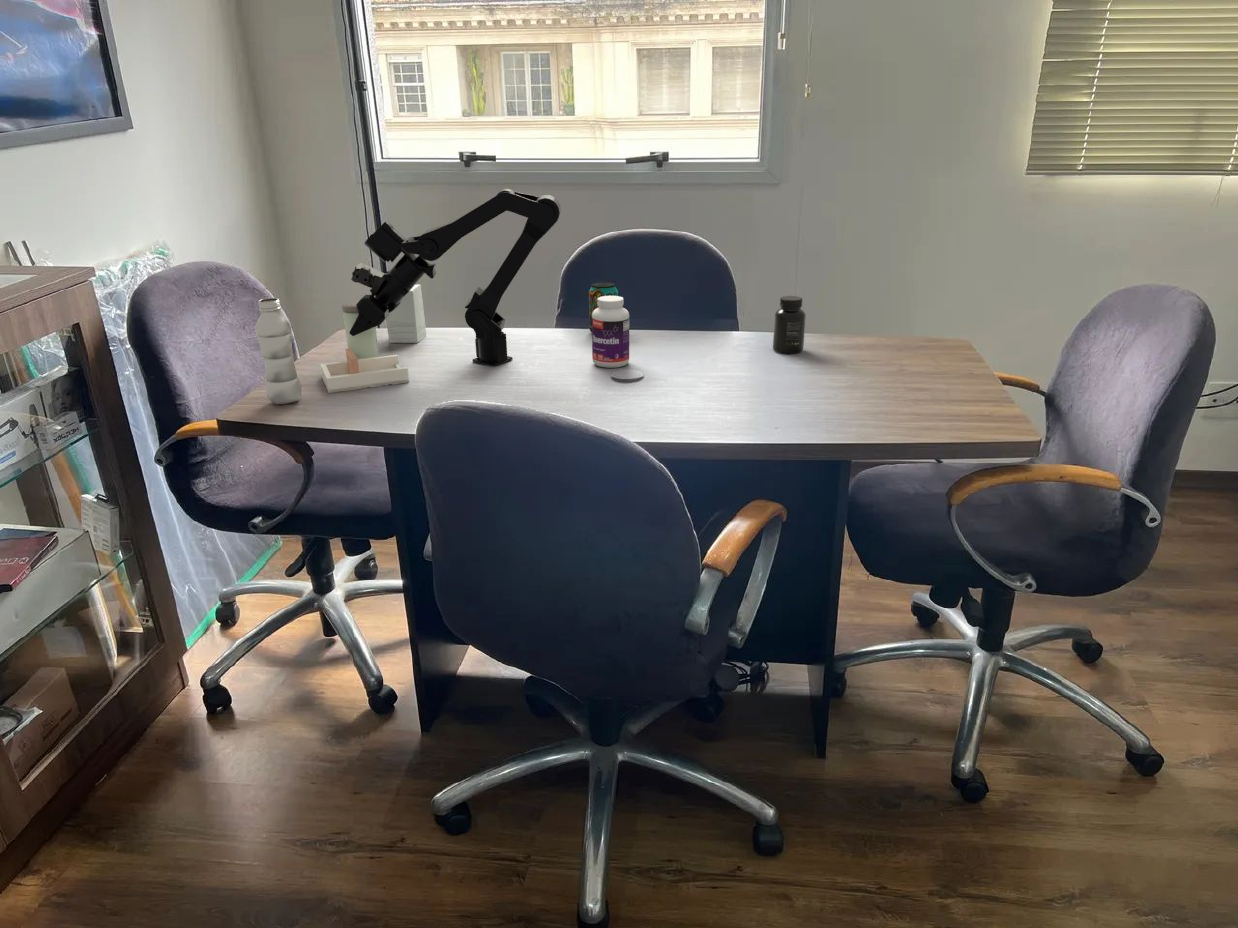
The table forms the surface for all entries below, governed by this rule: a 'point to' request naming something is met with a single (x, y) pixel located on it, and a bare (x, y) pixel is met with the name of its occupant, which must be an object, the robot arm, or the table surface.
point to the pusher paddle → (352, 362)
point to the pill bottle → (610, 333)
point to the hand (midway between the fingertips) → (356, 329)
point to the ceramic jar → (362, 342)
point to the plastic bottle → (277, 353)
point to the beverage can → (599, 295)
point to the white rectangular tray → (364, 374)
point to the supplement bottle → (789, 326)
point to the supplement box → (407, 319)
